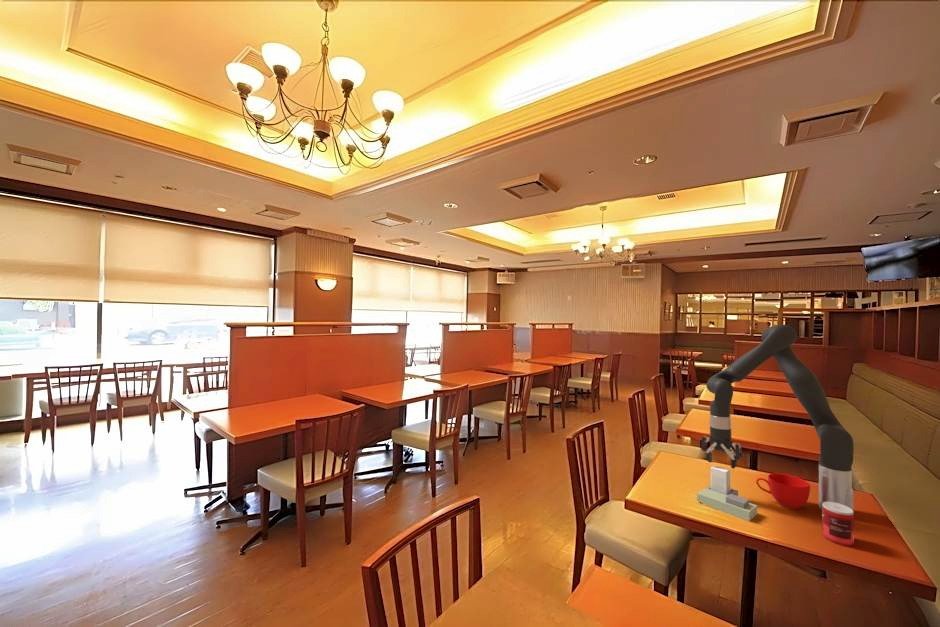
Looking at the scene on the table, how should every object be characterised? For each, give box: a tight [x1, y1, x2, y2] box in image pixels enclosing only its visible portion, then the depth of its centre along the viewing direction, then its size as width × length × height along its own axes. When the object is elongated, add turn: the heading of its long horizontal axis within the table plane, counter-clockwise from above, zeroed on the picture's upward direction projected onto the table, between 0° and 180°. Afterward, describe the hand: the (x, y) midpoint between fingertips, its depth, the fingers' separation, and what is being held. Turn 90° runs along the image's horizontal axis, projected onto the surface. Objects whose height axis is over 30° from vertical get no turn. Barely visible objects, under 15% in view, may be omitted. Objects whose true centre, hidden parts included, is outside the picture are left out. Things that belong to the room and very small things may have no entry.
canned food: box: [821, 502, 855, 547], centre depth 130 cm, size 8×8×11 cm
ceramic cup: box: [755, 472, 811, 510], centre depth 154 cm, size 13×17×10 cm
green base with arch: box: [696, 484, 758, 522], centre depth 154 cm, size 18×18×6 cm
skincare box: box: [710, 465, 731, 495], centre depth 160 cm, size 6×4×12 cm
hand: (721, 465), depth 159 cm, fingers open, 8 cm apart
